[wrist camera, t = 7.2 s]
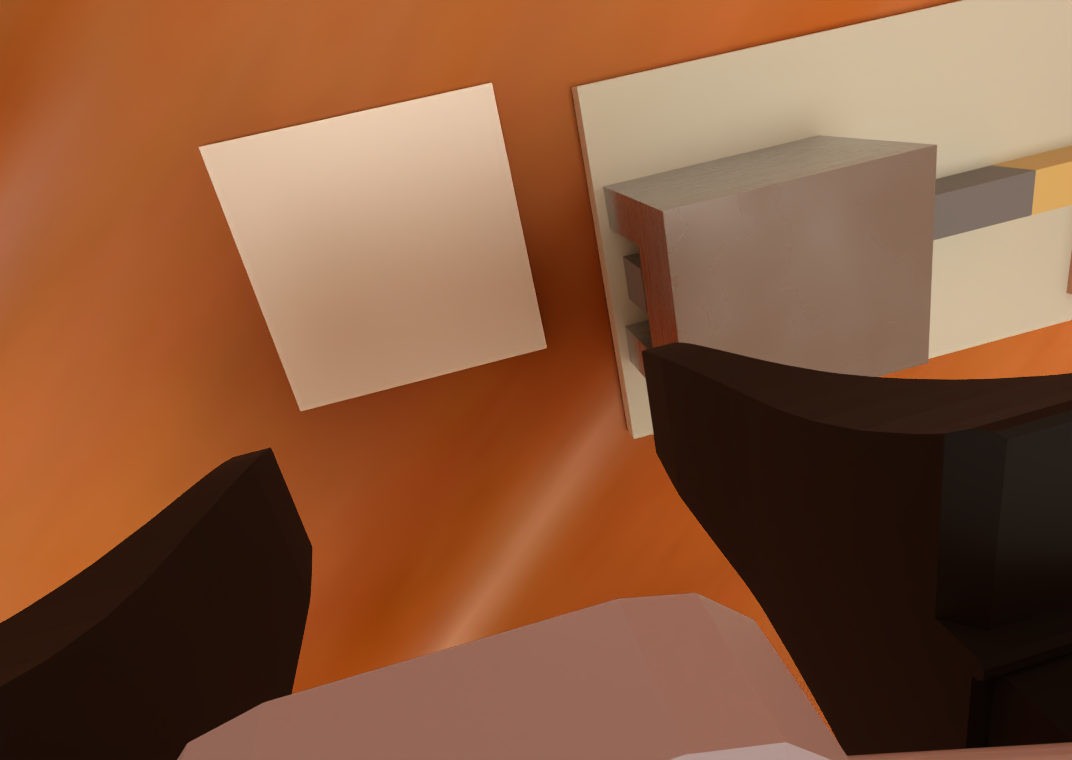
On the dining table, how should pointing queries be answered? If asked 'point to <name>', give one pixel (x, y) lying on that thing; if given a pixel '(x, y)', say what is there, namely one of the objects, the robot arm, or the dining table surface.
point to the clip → (788, 254)
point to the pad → (382, 243)
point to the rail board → (879, 114)
